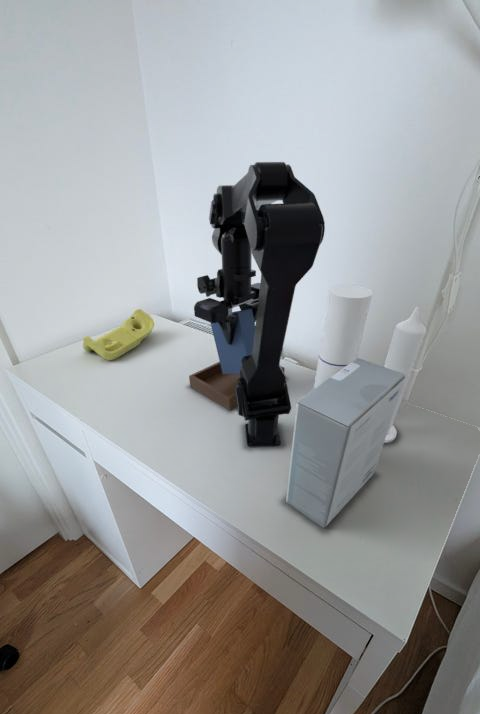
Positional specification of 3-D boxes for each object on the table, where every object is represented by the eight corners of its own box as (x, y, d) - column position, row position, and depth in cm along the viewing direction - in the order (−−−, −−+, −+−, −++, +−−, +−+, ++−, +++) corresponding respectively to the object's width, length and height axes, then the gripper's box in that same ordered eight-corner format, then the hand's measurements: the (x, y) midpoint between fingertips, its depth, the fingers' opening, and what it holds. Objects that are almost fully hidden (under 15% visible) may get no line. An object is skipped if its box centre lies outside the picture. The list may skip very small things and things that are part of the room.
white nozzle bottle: (379, 417, 71) (418, 296, 55) (403, 438, 66) (454, 311, 50) (351, 425, 69) (383, 302, 53) (373, 447, 64) (417, 318, 48)
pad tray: (244, 360, 91) (244, 349, 89) (283, 378, 83) (284, 367, 81) (190, 387, 81) (188, 375, 79) (229, 410, 73) (229, 398, 71)
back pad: (263, 368, 76) (252, 308, 71) (250, 374, 73) (237, 312, 68) (235, 368, 82) (223, 313, 77) (222, 374, 79) (209, 317, 75)
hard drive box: (335, 453, 63) (358, 356, 50) (373, 474, 58) (410, 374, 46) (283, 502, 54) (295, 399, 41) (324, 531, 50) (352, 426, 37)
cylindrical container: (305, 403, 75) (321, 287, 59) (333, 397, 77) (357, 283, 61) (320, 422, 70) (343, 300, 54) (350, 415, 71) (381, 295, 56)
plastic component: (109, 356, 88) (81, 332, 89) (108, 374, 94) (82, 352, 94) (161, 325, 100) (135, 304, 100) (157, 342, 106) (133, 323, 106)
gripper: (240, 250, 75) (240, 319, 85) (172, 266, 64) (181, 342, 74) (279, 258, 69) (275, 332, 78) (211, 277, 58) (215, 359, 68)
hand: (237, 340), depth 75 cm, fingers closed on back pad, 5 cm apart
